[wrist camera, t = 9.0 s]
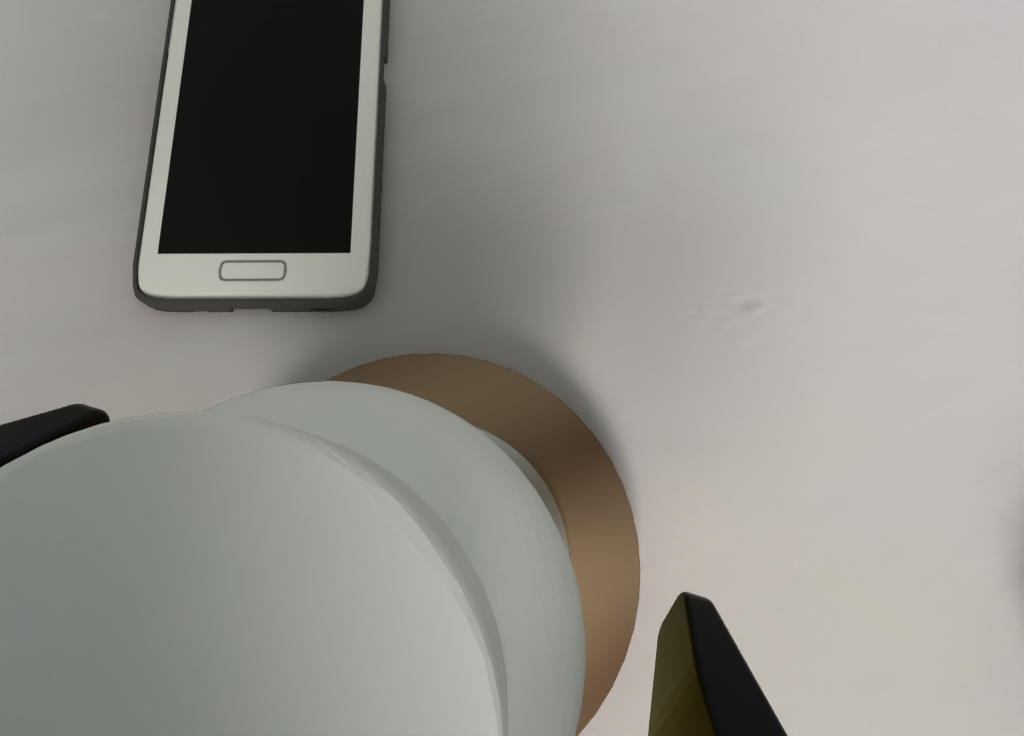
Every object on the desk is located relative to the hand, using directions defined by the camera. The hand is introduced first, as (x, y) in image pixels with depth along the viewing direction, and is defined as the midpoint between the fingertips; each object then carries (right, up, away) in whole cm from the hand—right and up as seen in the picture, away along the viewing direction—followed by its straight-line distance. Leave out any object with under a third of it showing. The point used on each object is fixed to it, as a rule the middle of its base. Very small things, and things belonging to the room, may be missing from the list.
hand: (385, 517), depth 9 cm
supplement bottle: (-1, -3, +8) cm, 8 cm away
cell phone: (-6, +11, +13) cm, 18 cm away
